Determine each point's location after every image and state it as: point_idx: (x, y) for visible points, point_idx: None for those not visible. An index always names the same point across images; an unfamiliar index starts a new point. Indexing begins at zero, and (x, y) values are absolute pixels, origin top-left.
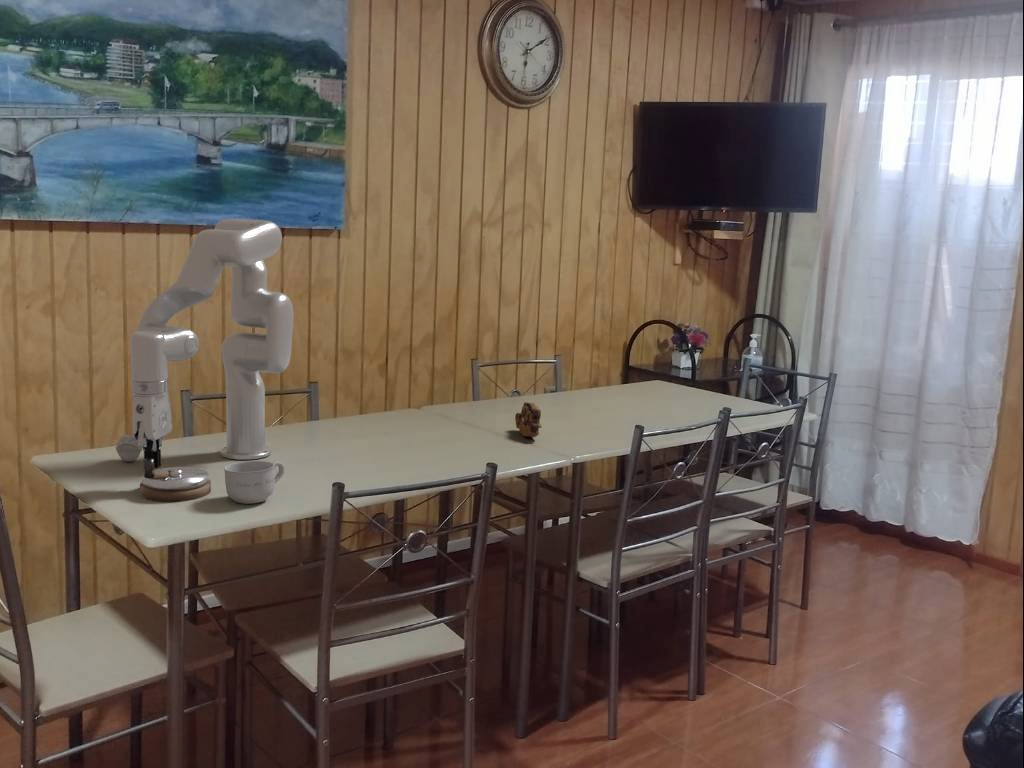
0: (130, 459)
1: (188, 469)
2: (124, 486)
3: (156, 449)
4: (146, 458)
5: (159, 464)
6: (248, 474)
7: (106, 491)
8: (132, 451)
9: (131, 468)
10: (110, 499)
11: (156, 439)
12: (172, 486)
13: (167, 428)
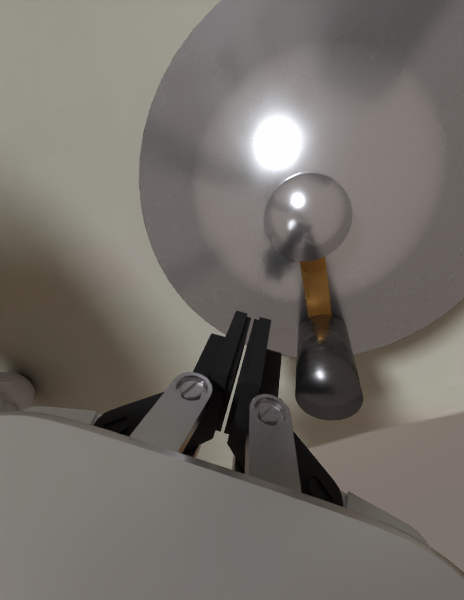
0: (28, 385)
1: (179, 167)
2: (239, 372)
3: (253, 399)
4: (315, 408)
5: (246, 321)
6: None
7: (292, 408)
8: (7, 398)
9: (73, 372)
10: (385, 394)
11: (389, 528)
12: None
13: (61, 509)
